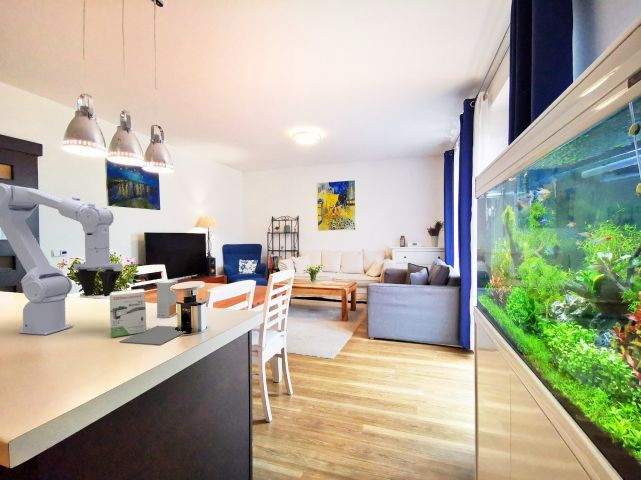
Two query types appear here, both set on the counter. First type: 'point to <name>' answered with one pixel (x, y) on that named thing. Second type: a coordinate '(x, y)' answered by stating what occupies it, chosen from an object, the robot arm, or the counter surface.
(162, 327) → the mat
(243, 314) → the counter surface
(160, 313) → the skincare box
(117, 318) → the ink box
